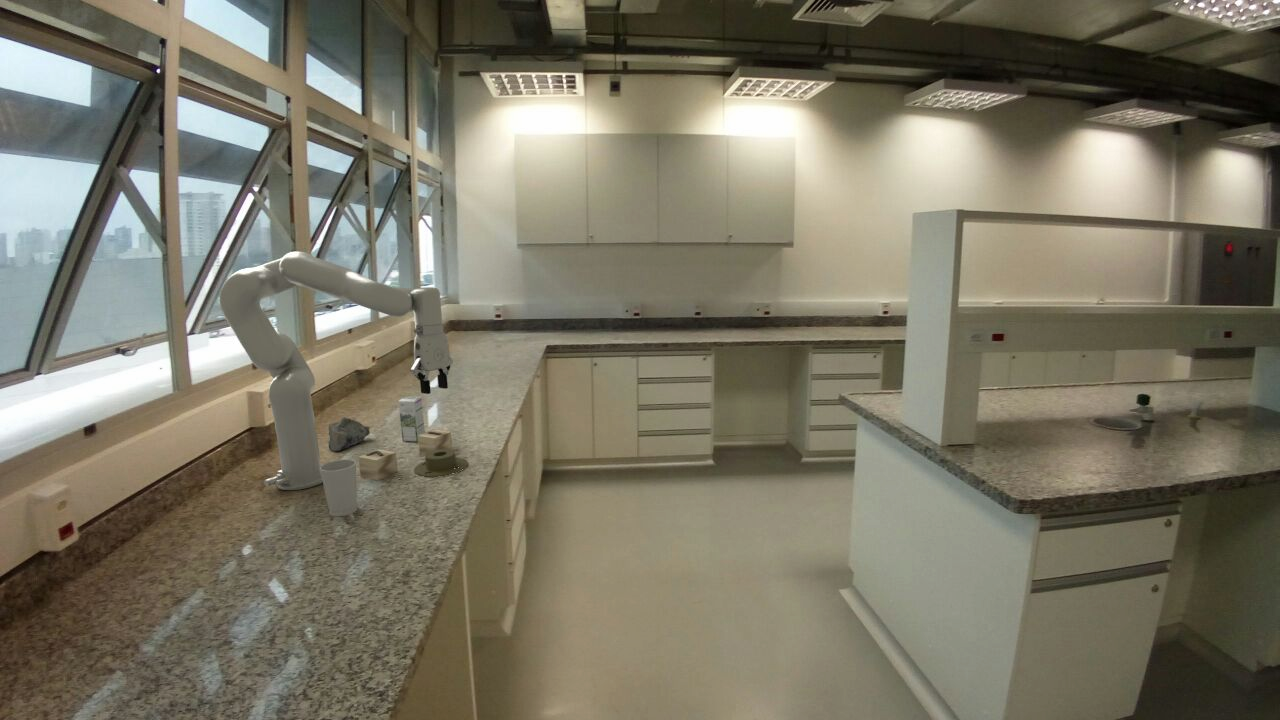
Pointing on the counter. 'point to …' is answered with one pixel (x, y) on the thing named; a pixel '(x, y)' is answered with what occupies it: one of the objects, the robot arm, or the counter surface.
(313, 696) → the counter surface
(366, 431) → the mineral rock
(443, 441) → the numeral block one
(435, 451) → the flange
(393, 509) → the counter surface
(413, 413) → the syrup box
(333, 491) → the cup
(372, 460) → the numeral block seven
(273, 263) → the robot arm
